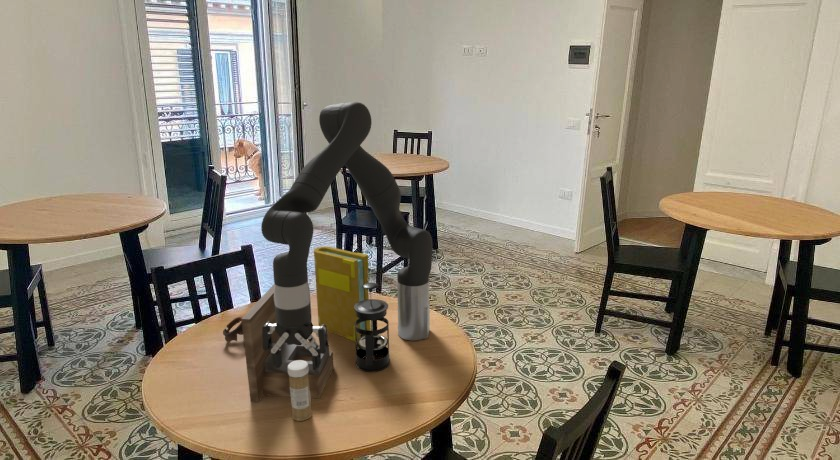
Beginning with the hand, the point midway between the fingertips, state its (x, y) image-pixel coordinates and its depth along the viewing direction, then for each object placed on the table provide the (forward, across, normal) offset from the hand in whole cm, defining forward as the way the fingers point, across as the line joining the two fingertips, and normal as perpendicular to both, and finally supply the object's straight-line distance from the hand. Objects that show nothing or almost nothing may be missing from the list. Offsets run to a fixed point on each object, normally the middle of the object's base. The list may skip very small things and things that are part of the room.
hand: (297, 367), depth 120 cm
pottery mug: (+13, +28, -34) cm, 46 cm away
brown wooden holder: (+13, +6, -14) cm, 20 cm away
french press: (+13, -12, -24) cm, 30 cm away
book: (+13, +1, -42) cm, 44 cm away
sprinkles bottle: (+13, 0, 0) cm, 13 cm away
